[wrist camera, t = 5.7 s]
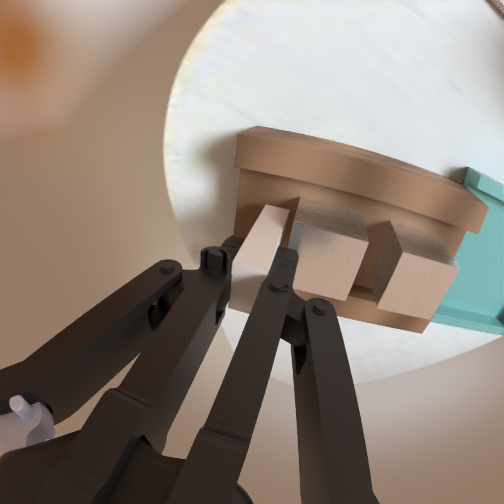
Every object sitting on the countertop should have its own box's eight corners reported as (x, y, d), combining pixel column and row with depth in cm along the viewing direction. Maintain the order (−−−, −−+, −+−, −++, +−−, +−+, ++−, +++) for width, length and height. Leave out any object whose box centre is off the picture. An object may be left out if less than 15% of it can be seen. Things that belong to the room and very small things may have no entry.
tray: (554, 217, 13) (566, 228, 11) (498, 321, 20) (505, 335, 19) (468, 166, 15) (481, 175, 13) (410, 301, 22) (414, 318, 20)
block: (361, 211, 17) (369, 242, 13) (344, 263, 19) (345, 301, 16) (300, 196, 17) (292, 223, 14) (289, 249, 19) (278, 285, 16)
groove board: (462, 184, 16) (489, 207, 12) (412, 297, 22) (421, 333, 18) (257, 125, 18) (238, 133, 15) (240, 255, 24) (223, 287, 21)
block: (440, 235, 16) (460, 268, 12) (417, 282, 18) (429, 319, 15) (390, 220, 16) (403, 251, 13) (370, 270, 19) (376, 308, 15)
